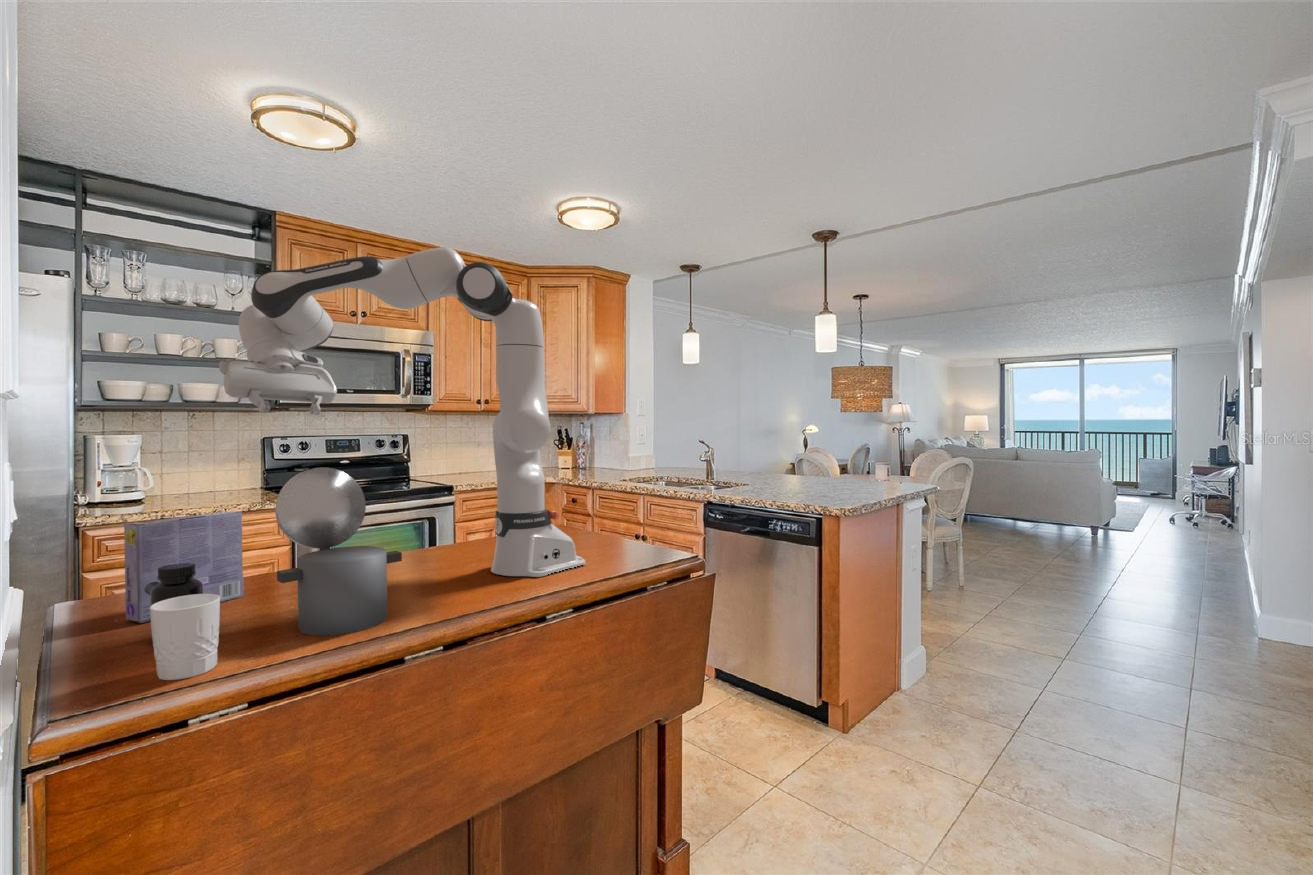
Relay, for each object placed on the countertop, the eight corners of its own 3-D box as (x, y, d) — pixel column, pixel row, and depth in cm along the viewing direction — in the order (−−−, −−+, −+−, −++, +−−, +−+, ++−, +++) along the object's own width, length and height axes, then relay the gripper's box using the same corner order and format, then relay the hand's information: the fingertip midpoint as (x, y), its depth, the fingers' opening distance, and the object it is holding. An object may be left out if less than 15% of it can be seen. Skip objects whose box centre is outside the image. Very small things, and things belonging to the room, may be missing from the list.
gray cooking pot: (383, 600, 118) (381, 540, 117) (417, 615, 109) (416, 550, 108) (267, 627, 103) (265, 558, 102) (295, 647, 94) (294, 572, 93)
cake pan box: (235, 592, 124) (232, 508, 123) (250, 595, 122) (248, 509, 121) (123, 621, 106) (120, 523, 105) (139, 625, 104) (136, 525, 103)
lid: (369, 541, 116) (365, 541, 117) (361, 465, 117) (358, 466, 118) (281, 554, 104) (278, 555, 105) (275, 470, 105) (272, 471, 106)
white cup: (167, 687, 80) (165, 614, 80) (141, 675, 84) (139, 605, 83) (232, 666, 87) (230, 598, 86) (205, 655, 91) (203, 590, 90)
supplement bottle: (207, 638, 98) (205, 566, 97) (153, 649, 93) (150, 573, 93) (201, 627, 103) (199, 559, 102) (149, 638, 98) (147, 566, 97)
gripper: (221, 346, 117) (236, 397, 111) (329, 360, 133) (347, 404, 128) (212, 369, 120) (226, 419, 114) (319, 379, 136) (337, 424, 130)
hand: (291, 411), depth 121 cm, fingers open, 8 cm apart
